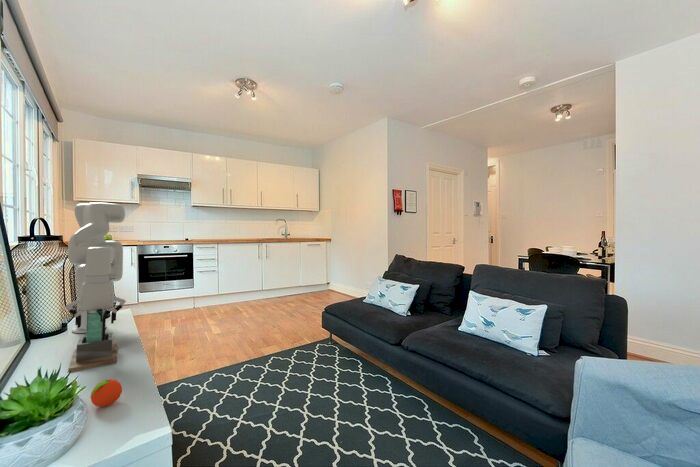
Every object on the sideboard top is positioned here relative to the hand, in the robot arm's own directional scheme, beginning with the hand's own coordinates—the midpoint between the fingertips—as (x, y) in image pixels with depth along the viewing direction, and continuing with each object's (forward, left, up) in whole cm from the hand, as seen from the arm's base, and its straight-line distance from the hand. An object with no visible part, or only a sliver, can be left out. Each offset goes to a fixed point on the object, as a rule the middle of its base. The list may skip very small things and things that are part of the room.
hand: (96, 324), depth 115 cm
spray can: (0, 0, -12) cm, 12 cm away
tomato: (+41, +4, -13) cm, 43 cm away
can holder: (0, 0, -12) cm, 12 cm away
